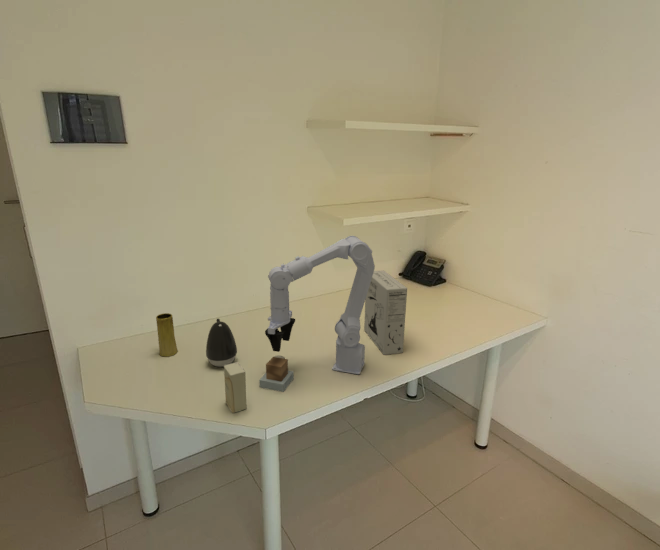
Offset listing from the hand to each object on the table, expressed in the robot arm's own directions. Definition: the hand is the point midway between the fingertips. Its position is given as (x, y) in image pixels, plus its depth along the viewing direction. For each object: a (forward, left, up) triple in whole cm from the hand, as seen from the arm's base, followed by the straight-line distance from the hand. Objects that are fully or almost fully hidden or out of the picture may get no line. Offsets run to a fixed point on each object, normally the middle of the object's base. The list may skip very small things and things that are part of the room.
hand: (281, 345), depth 130 cm
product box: (-27, -34, -11) cm, 45 cm away
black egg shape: (+22, 0, -11) cm, 25 cm away
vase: (+44, 0, -11) cm, 46 cm away
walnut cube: (-1, +6, -8) cm, 10 cm away
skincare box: (+5, +20, -11) cm, 23 cm away
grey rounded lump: (+2, -2, -10) cm, 11 cm away
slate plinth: (-1, +5, -11) cm, 12 cm away
